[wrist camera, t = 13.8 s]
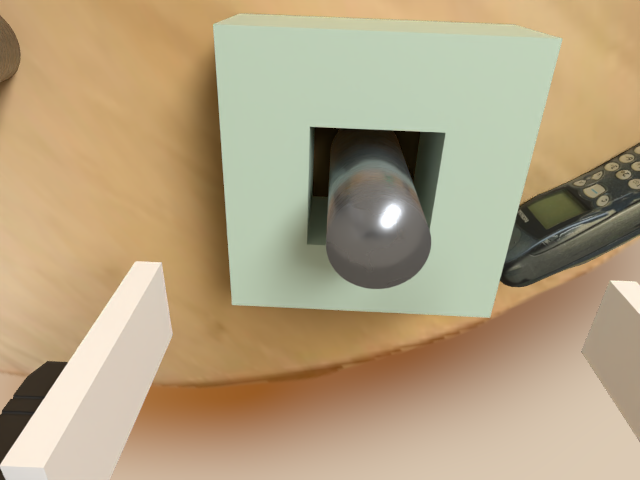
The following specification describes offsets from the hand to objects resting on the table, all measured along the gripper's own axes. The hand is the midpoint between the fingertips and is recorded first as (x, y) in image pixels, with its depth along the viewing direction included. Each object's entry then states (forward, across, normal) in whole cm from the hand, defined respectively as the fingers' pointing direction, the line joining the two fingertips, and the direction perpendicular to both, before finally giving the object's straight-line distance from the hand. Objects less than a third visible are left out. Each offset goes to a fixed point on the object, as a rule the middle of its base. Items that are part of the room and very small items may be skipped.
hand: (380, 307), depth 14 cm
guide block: (+15, 0, 0) cm, 15 cm away
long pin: (+15, 0, 0) cm, 15 cm away
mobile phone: (+15, +13, -3) cm, 20 cm away
